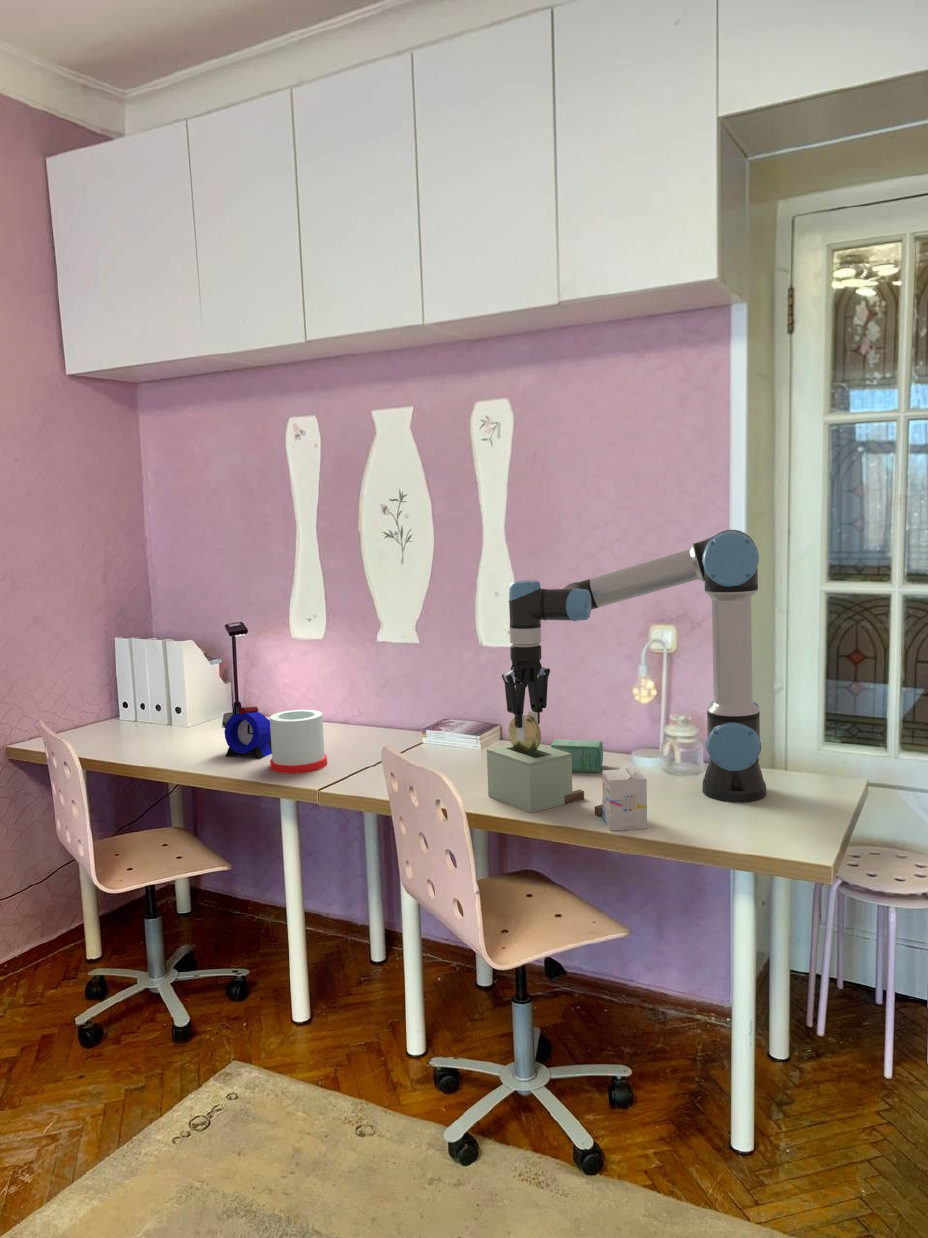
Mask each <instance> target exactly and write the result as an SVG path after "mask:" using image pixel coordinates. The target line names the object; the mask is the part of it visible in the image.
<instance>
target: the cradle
mask: <svg viewBox="0 0 928 1238" xmlns="http://www.w3.org/2000/svg"><path fill="white" fill-rule="evenodd" d="M581 800H585V790H582V789H576V790H572V794H569V795H565V804H564V805H567V804H571V803H573V802H579V801H581ZM594 815H595V816H597V817H599V818H600V817H603V803H602V804H600V805H595V806H594Z"/></svg>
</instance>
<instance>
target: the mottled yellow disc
mask: <svg viewBox="0 0 928 1238" xmlns="http://www.w3.org/2000/svg"><path fill="white" fill-rule="evenodd" d="M525 715H526V741H525V742H523V741H520V740H517V728H516V727H515V717H513V718H512V719H511V720H510V723H509V725H508V736H509V737H508V738H509V740H510V744H512V746H513V747H514V749H515V750H516V751H518V752H519V753H527V752H531V751H535V750H537V749H538V747H539V745H540V744H541V742H542V732H541V729H540V724H538V723H537V721H536V720H535V719H534V718H533V717H532V716H530V715H528V714H525Z"/></svg>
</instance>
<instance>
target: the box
mask: <svg viewBox="0 0 928 1238" xmlns="http://www.w3.org/2000/svg"><path fill="white" fill-rule="evenodd" d="M550 747H551V748H555V749H558V750H561V751H565V752H568V753H571V754H572V772H578V773H579V772H581V773H600V771H601V769H602V768H603V767H602V766H603V761H604V748H603V747H604V746H603V741H602V740H592V739H591V740H588V739H587V740H586V739H564V738H563V739H561V738H559V739H558V738H555V739H554V740H553V742H552V743H551V744H550Z"/></svg>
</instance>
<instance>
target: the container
mask: <svg viewBox="0 0 928 1238" xmlns="http://www.w3.org/2000/svg"><path fill="white" fill-rule="evenodd" d="M269 720H270V730H271V747H272V754H271V759H270V762H269V764H270V769H271V771H273V772H275V773H280V774H302V773H310V772H314V771H318V770H320V769H321V770H322V769H323V768H325V767H326V766H327V765H328V756H327V754H326V753H325V737H324V734H325V733H324V721H323V720H324V719H323V713H322V712H321V711H319V710H317V709H316V710H314V709H292V710H284V711H280V712H276V713H273V714H272V715H270V716H269Z"/></svg>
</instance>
